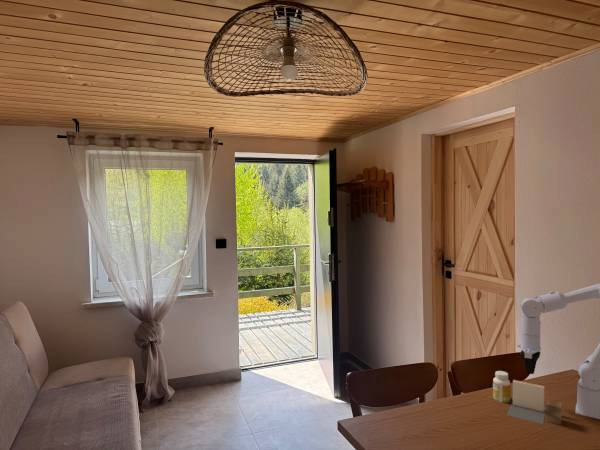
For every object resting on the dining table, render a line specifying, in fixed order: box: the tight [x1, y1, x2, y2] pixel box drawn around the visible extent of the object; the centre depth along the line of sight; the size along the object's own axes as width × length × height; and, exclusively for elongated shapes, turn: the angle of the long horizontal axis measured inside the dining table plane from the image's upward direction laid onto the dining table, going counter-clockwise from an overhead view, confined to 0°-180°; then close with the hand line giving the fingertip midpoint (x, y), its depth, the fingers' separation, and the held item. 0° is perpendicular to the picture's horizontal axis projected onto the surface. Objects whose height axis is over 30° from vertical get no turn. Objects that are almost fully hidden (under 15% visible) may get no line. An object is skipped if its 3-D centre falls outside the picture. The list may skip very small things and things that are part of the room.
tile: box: [512, 379, 545, 412], centre depth 135 cm, size 9×1×8 cm, turn 55°
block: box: [545, 399, 563, 426], centre depth 127 cm, size 4×4×6 cm
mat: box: [506, 399, 546, 425], centre depth 133 cm, size 10×13×1 cm
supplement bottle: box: [492, 370, 511, 403], centre depth 141 cm, size 5×5×10 cm
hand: (530, 372), depth 139 cm, fingers closed
